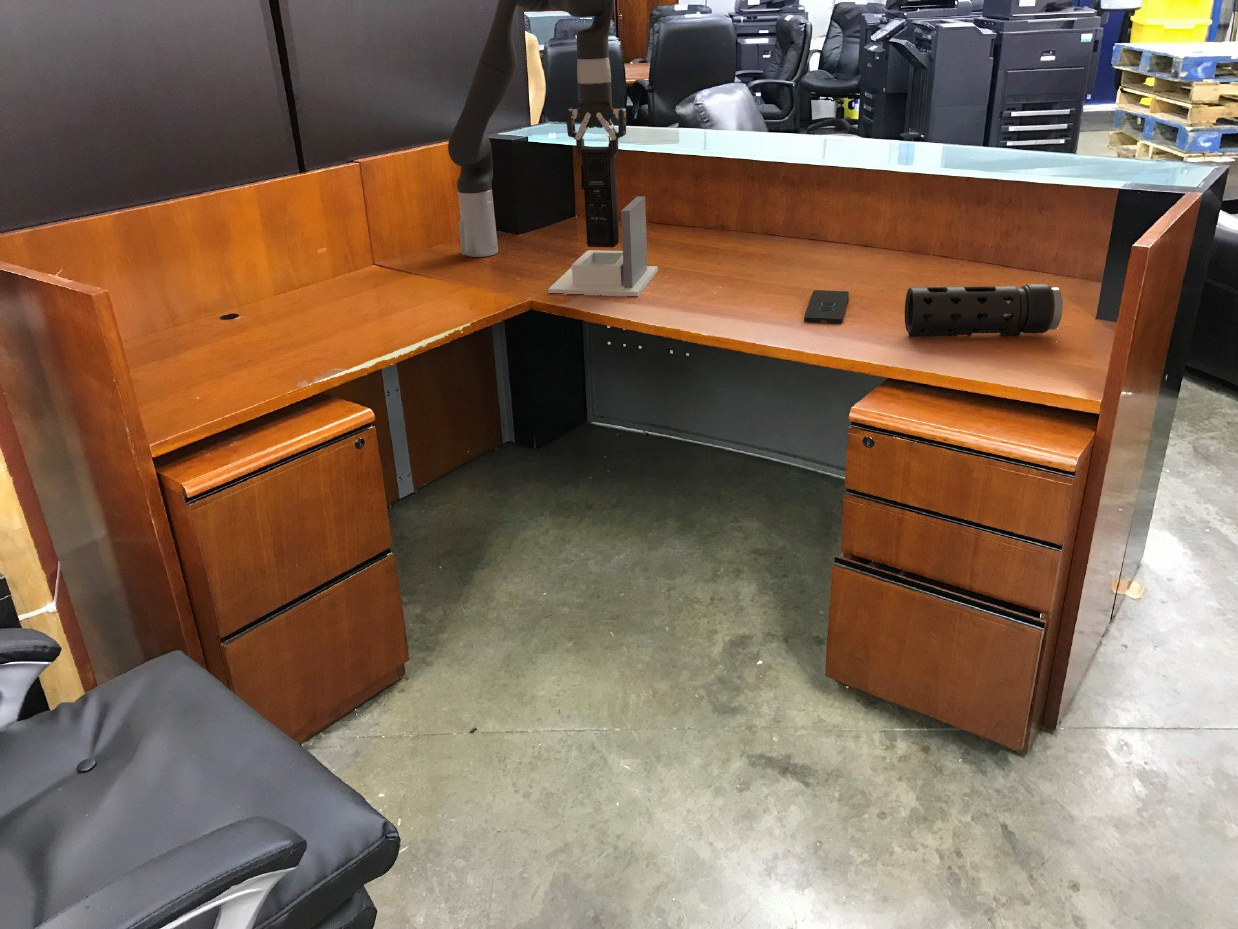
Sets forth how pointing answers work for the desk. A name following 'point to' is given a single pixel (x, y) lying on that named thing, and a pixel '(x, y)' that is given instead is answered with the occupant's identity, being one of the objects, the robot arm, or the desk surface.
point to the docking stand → (613, 262)
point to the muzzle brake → (982, 310)
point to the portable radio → (600, 196)
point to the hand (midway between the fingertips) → (597, 156)
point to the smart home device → (827, 307)
